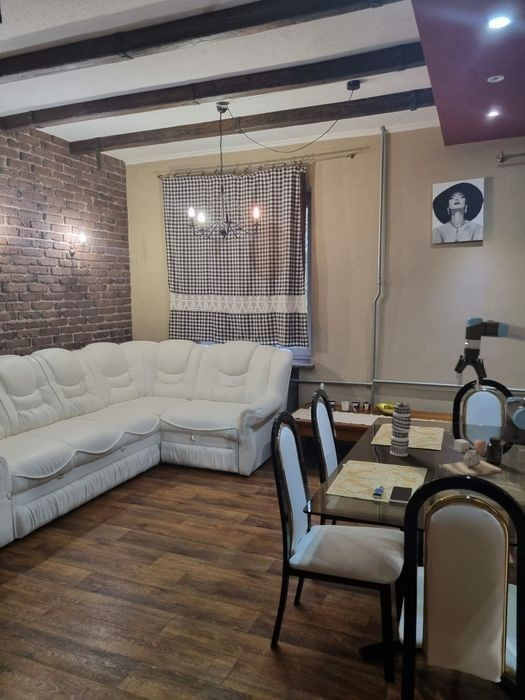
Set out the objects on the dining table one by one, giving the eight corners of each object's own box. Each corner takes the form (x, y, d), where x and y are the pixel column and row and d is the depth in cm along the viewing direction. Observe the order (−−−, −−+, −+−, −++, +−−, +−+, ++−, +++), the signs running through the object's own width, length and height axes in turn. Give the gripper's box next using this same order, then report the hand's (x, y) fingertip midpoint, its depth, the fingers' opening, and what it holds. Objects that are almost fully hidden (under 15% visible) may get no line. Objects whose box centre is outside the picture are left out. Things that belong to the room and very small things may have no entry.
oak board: (480, 462, 229) (480, 459, 229) (500, 471, 218) (501, 469, 218) (442, 467, 221) (442, 464, 221) (461, 477, 210) (461, 474, 210)
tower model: (394, 457, 233) (398, 405, 229) (385, 450, 242) (389, 400, 238) (412, 456, 235) (416, 405, 231) (403, 449, 244) (406, 400, 240)
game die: (475, 475, 219) (487, 463, 212) (456, 467, 220) (468, 455, 213) (475, 460, 225) (487, 448, 219) (458, 452, 226) (469, 440, 220)
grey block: (461, 448, 248) (462, 439, 247) (468, 451, 244) (469, 442, 243) (453, 449, 246) (454, 439, 246) (460, 452, 242) (461, 443, 241)
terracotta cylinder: (479, 452, 242) (480, 439, 241) (487, 456, 237) (488, 442, 236) (471, 453, 240) (472, 440, 239) (479, 457, 236) (480, 443, 235)
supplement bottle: (500, 462, 230) (502, 437, 228) (502, 467, 224) (504, 441, 222) (484, 460, 232) (486, 435, 231) (485, 464, 226) (488, 439, 224)
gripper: (449, 344, 263) (446, 383, 266) (485, 351, 240) (481, 393, 242) (460, 344, 265) (457, 382, 268) (497, 350, 242) (493, 392, 245)
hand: (468, 388), depth 255 cm, fingers open, 13 cm apart
